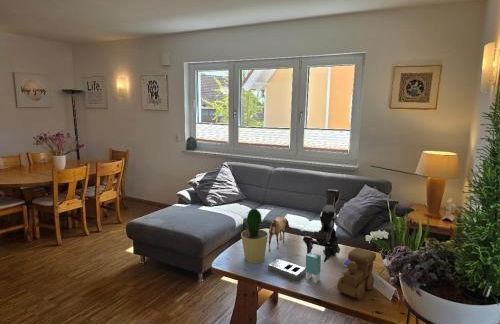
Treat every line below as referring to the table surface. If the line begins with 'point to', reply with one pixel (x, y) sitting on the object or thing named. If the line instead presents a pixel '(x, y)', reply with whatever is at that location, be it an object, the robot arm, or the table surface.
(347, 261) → the hard drive
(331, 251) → the robot arm
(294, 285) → the table surface
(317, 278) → the clip
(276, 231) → the horse figurine
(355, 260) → the wooden toy train
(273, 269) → the grey block with holes
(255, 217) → the potted cactus
